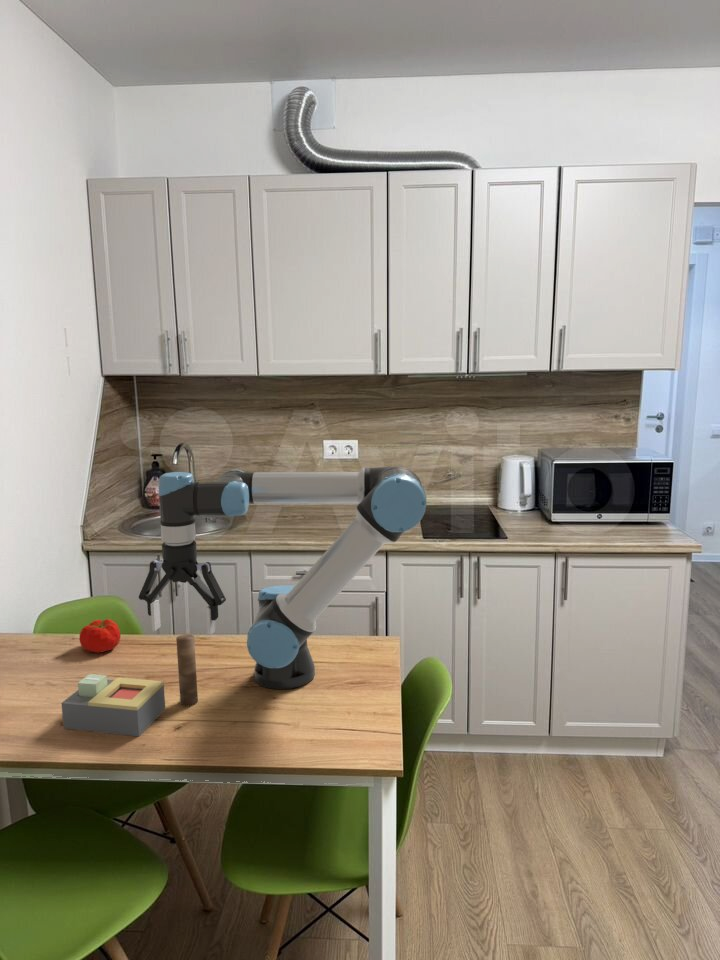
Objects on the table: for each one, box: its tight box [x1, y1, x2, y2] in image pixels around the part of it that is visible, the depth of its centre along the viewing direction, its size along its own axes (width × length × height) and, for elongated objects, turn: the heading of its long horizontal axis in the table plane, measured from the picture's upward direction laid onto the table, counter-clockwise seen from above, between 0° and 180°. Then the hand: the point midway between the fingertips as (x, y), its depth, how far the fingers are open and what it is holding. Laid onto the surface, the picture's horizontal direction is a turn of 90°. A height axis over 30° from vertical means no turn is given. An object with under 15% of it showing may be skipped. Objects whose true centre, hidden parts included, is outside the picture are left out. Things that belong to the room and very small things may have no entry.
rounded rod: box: [175, 633, 199, 707], centre depth 164 cm, size 4×4×16 cm
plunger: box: [111, 689, 141, 700], centre depth 157 cm, size 6×6×2 cm
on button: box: [77, 673, 108, 698], centre depth 159 cm, size 4×4×4 cm
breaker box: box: [61, 676, 166, 737], centre depth 158 cm, size 18×12×7 cm, turn 78°
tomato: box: [78, 618, 121, 654], centre depth 196 cm, size 11×11×8 cm
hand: (183, 630), depth 163 cm, fingers open, 13 cm apart
